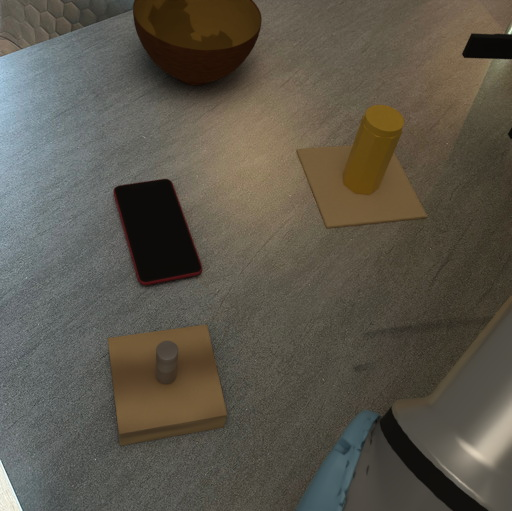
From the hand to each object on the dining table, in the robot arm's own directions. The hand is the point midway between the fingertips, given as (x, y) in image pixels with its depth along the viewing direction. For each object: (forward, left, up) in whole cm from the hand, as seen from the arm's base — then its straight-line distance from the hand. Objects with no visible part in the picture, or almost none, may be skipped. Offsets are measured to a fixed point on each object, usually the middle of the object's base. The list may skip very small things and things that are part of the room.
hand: (489, 83), depth 67 cm
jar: (+5, +7, -20) cm, 22 cm away
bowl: (+30, +25, -20) cm, 45 cm away
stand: (-20, +37, -20) cm, 47 cm away
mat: (+5, +7, -20) cm, 22 cm away
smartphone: (0, +35, -20) cm, 41 cm away
